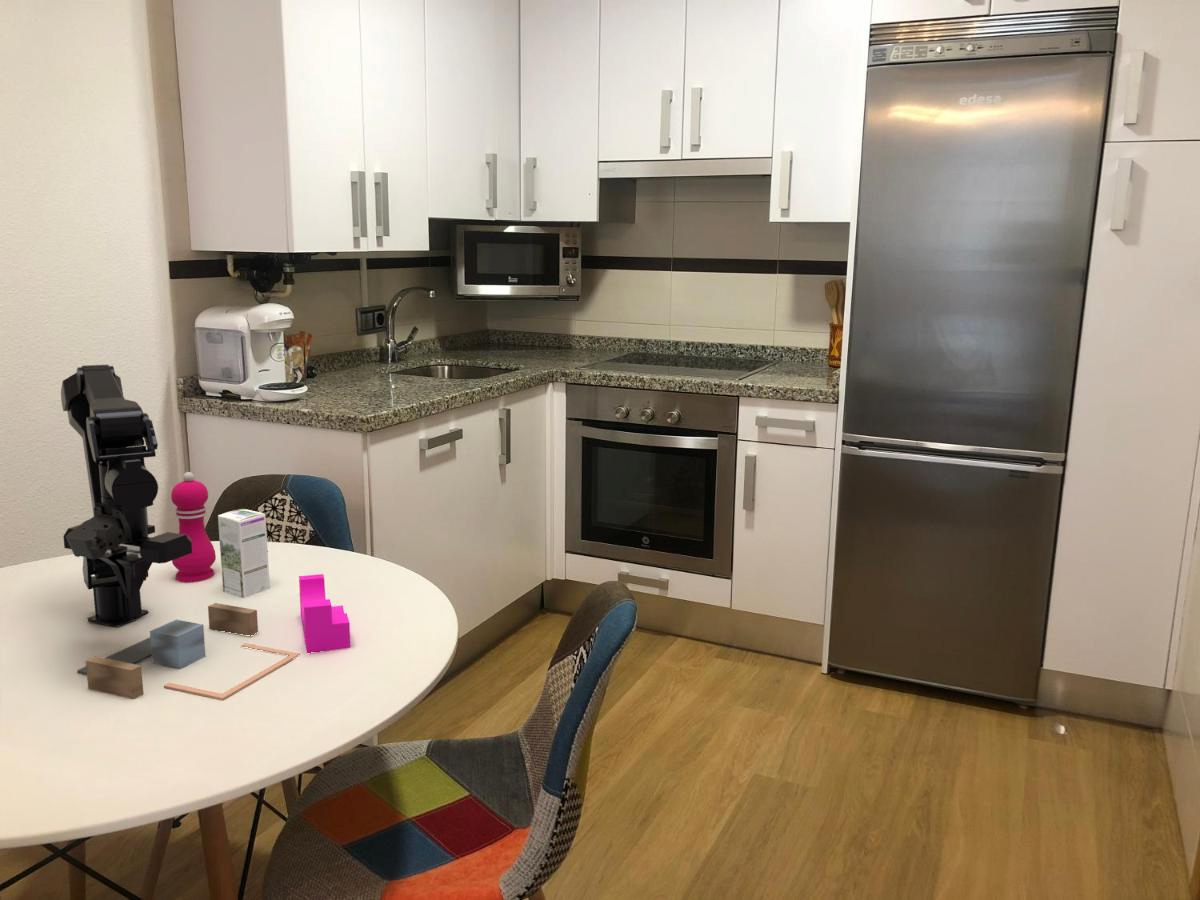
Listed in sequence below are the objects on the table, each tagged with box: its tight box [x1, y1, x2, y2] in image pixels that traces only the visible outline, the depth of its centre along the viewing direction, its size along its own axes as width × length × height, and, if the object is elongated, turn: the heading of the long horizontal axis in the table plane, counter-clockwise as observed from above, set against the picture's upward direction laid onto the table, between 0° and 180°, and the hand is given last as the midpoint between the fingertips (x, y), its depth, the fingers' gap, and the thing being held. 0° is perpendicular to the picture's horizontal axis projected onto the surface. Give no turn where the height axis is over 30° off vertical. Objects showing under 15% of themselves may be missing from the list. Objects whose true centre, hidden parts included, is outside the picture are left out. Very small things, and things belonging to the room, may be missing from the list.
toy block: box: [298, 573, 351, 654], centre depth 151 cm, size 15×6×8 cm, turn 20°
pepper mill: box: [170, 471, 217, 584], centre depth 173 cm, size 7×7×20 cm
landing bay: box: [163, 643, 301, 701], centre depth 138 cm, size 10×16×1 cm, turn 159°
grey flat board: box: [76, 637, 152, 676], centre depth 144 cm, size 5×18×1 cm, turn 159°
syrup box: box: [217, 508, 271, 599], centre depth 167 cm, size 6×6×14 cm
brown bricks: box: [85, 602, 259, 700], centre depth 141 cm, size 8×24×4 cm, turn 159°
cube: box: [149, 619, 206, 670], centre depth 141 cm, size 5×5×5 cm
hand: (132, 598), depth 142 cm, fingers closed
